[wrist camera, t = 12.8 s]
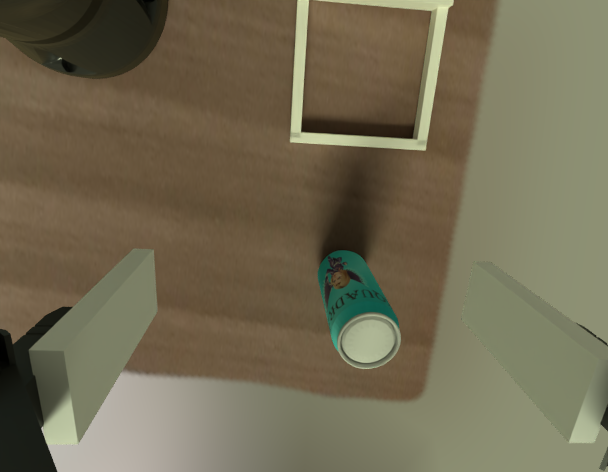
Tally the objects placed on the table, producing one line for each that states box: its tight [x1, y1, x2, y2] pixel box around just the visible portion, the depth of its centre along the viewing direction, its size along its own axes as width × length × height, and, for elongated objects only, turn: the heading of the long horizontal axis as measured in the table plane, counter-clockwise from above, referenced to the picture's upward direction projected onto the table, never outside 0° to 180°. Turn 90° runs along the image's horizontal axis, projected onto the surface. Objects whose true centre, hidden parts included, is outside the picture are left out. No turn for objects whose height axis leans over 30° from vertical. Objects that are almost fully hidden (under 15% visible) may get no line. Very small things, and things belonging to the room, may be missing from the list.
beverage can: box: [318, 250, 401, 369], centre depth 38 cm, size 6×6×15 cm
